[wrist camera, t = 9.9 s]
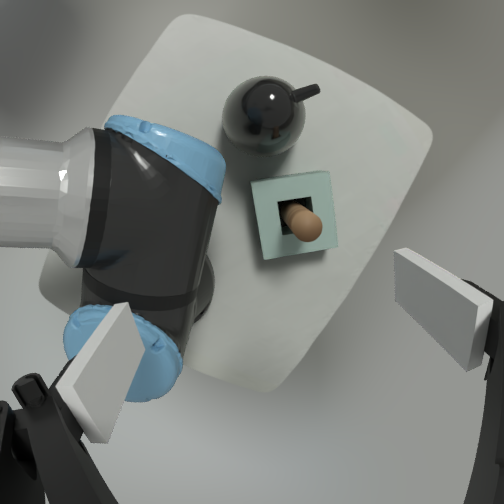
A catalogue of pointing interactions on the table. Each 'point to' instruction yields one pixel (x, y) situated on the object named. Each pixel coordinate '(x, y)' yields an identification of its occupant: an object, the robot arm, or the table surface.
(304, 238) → the peg
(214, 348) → the table surface
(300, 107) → the pump dispenser
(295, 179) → the socket block
